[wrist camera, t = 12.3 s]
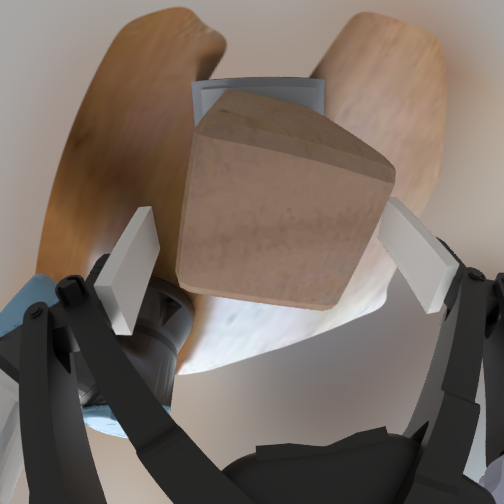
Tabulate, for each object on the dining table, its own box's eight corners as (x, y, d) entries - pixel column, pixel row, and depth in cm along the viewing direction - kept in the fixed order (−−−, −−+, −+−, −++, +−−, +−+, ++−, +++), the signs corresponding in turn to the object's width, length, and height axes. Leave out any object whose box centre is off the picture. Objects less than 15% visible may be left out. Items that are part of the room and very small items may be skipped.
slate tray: (205, 190, 37) (202, 200, 35) (195, 81, 29) (190, 82, 27) (314, 186, 37) (320, 196, 35) (317, 78, 30) (325, 79, 27)
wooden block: (223, 87, 27) (194, 111, 11) (316, 109, 29) (409, 169, 12) (206, 173, 33) (171, 296, 16) (291, 190, 34) (335, 319, 18)
